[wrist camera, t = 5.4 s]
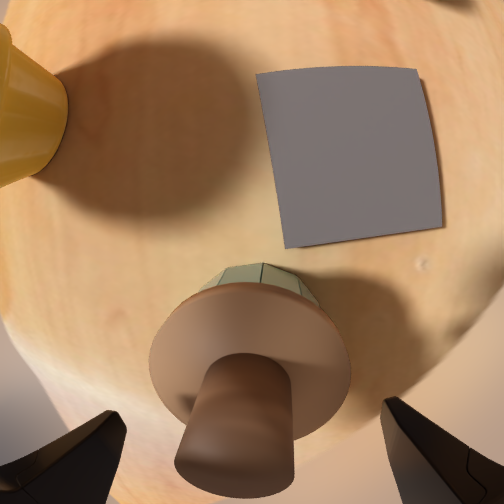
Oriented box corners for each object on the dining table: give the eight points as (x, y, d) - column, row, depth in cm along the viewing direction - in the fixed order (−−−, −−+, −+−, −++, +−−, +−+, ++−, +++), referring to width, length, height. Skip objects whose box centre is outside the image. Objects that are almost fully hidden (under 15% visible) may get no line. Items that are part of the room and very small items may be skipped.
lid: (342, 267, 9) (398, 346, 4) (344, 421, 11) (361, 508, 6) (134, 293, 10) (55, 363, 5) (187, 431, 12) (159, 509, 7)
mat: (410, 73, 11) (416, 69, 10) (434, 224, 12) (442, 226, 12) (256, 80, 12) (255, 74, 11) (284, 245, 13) (285, 249, 13)
